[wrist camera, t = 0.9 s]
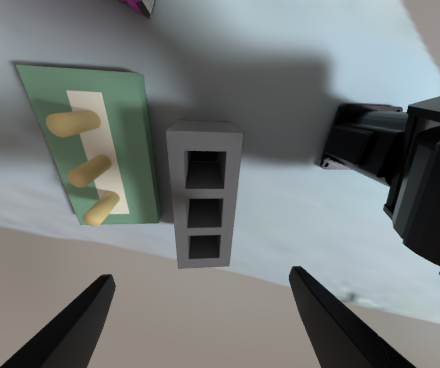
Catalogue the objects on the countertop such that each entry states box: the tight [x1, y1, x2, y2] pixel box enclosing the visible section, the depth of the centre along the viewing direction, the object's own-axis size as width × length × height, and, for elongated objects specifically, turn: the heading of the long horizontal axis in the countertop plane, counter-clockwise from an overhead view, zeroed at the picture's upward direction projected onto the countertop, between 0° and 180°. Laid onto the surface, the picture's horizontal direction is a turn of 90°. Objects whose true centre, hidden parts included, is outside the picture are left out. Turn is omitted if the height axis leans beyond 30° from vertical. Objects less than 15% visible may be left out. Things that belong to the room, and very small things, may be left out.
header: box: [16, 65, 161, 226], centre depth 14 cm, size 8×14×5 cm, turn 177°
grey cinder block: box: [166, 120, 244, 269], centre depth 16 cm, size 5×12×6 cm, turn 177°
